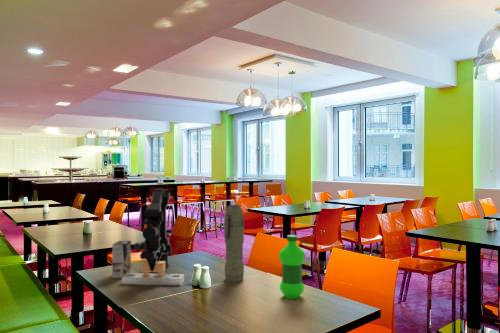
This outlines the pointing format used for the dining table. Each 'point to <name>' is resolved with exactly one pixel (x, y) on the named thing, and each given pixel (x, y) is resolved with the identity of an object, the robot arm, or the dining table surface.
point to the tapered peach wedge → (159, 268)
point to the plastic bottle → (292, 268)
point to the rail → (153, 279)
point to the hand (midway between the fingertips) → (153, 269)
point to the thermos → (234, 243)
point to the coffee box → (121, 259)
